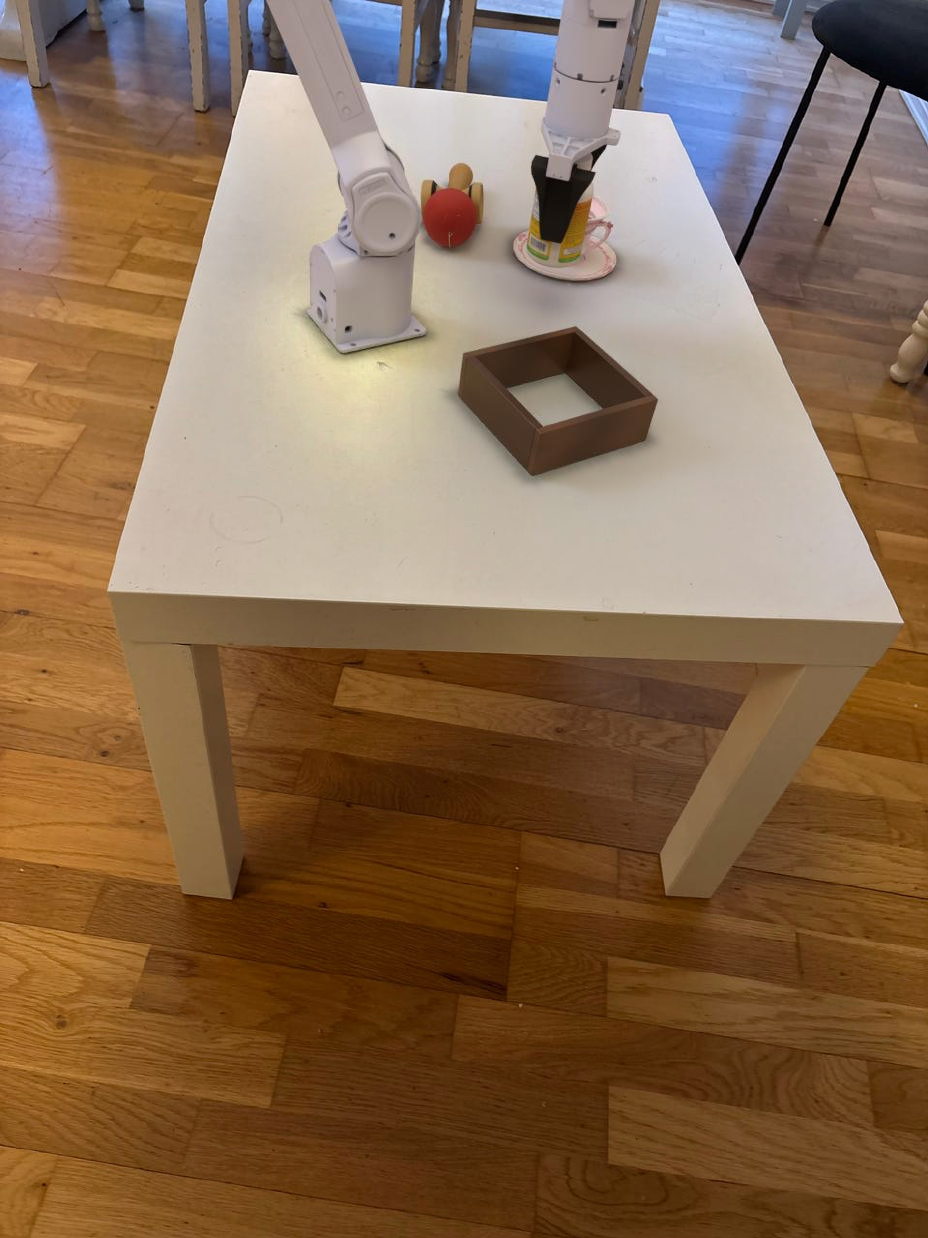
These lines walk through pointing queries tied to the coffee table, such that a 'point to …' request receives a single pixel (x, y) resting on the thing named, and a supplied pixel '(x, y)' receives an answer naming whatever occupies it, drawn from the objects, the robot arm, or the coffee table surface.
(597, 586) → the coffee table surface
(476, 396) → the square frame
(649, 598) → the coffee table surface
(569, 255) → the supplement bottle
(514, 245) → the teacup
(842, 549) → the coffee table surface
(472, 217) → the kendama
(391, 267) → the robot arm
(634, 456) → the coffee table surface
